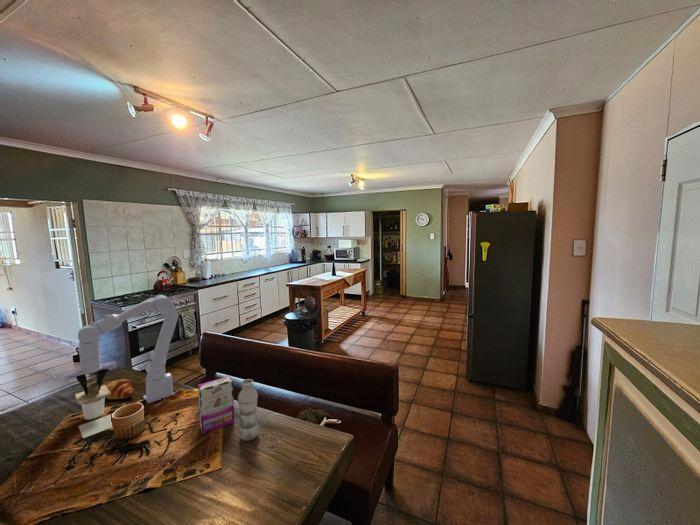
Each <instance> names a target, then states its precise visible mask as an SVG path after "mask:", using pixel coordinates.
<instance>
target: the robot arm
mask: <svg viewBox="0 0 700 525" xmlns="http://www.w3.org/2000/svg"><path fill="white" fill-rule="evenodd" d="M155 311H157V312H158V313H160V314H161V315H162V316H163V318H164V319H163V322H162V325H161V328H160V331H159V335H158V337H157V340H156V344H155V347H154V349H153V353H152V354H151V356H150V358H149V360H148V361H147V362H146V364H144V365H145V366H144V370H145V371H146V373H147V375H146V376H145V392H146V393H145V394H144V395H143V399H144V400H145V401H146V402H147V403H148V404H151V403H154V402H157V401H159V400H162V399H161V398H163V399H166V398H168V397H171V396H173V395H174V394H175V393H174V381H173V376H172V373H171V372H167V371H166V363H167V355H168V351H169V347H170V345H171V341H172V338H173V335H174V332H175V329H176V326H177V323H178V319H179V314H178V311H177V308H176V305H175V303H174V302H173V301H172V300H171V299H170V298H168V296H167V295H164V294H157V295H155V296H154V297H149V298H147V299H145V300H143V301H142V302H139V303H138V304H136V305H134V306H132V307H130V308H128V309H126V310H124V311H123V312H120V313H118V314H116V313H112V314H109V313H107V314H105V315H104V317H103V318H101V319H99V320H97V321H95V322H94V321H92V322H89V324H87V325H84V326H82V327H81V328H79V329H78V333H77V339H78V341H79V343H78V345H79V347H78V352H79V365H80V367H79V369H77V370H74V371H69V372H67V373H64V374H63V378H64V381H70V379H71V380H72V379H76V380H77V381H78V383H79V384H80V385H81V387H82V389H83V392H84V393H85V394H88V390H87V383H88V379H87V375H90V374H94V373H95V375H96V382H97V383H98V385H99V390H100V388H101V386H102V385H103V384H102V383H103V380H104V379H105V376H107V370H108V369H109V370H110V369H114V368H117V364H116V362H115V361H112V362H105V363H101V362H102V361H101V352H100V351H101V350H100V348H101V347H100V343H99V337H100V336H104V335H106V334H108V333H110V332H112V331H113V330H116V329H117V328H119V327H121V326H122V325H123V323H124V321H127V320H129V319H131V318H133V317H136V316H138V315H141V314H142V313H144V312H145V313H146V312H148V313H149V312H150V313H151V312H152V313H153V312H155ZM166 372H167V373H166ZM170 395H171V396H170ZM165 397H166V398H165ZM156 400H157V401H156ZM153 401H154V402H153ZM150 402H151V403H150Z"/></svg>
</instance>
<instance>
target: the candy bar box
mask: <svg viewBox="0 0 700 525" xmlns="http://www.w3.org/2000/svg"><path fill="white" fill-rule="evenodd" d="M197 392H198V395H197V396H198V409H199V410H198V411H199V425H200V427H201V428H200V430H201V434H202V435H204V434H206V433H209V431H210V432H212V431H215V430H217V429H221V428H223V427H225V426H228V425H231V424H234V423H235V406H234V405H235V404H234V402H235V400H234V381H233V379H232V378H231V376H230V375H229V376H225V377H222V378H219V379H214V380H210V381H206V382H204V383H200V384H197Z"/></svg>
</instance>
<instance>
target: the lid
mask: <svg viewBox="0 0 700 525" xmlns="http://www.w3.org/2000/svg"><path fill="white" fill-rule="evenodd" d="M87 390H88V394H85V393H84V391H81V392H77V393H75V394H74V397H75V399H76V402H77V404H78V405H81V403H84V402H87V401H91V400H94V399H97V398H100V397H103V396H106V395H109V394H111V393H110V391H109V390H108V388H107V387H106V385H104V386H102V385H101V388H100V390H99V385H98V383H97V380H95V381H90V382H87Z"/></svg>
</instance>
